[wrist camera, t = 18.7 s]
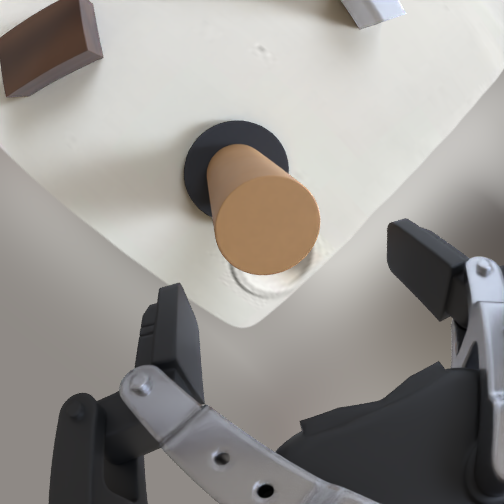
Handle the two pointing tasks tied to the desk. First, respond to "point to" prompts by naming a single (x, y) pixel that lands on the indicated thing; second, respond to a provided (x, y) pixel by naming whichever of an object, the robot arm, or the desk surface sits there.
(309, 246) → the tan cylinder
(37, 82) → the walnut block
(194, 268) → the desk surface
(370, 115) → the desk surface
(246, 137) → the coaster
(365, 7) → the usb wall charger
